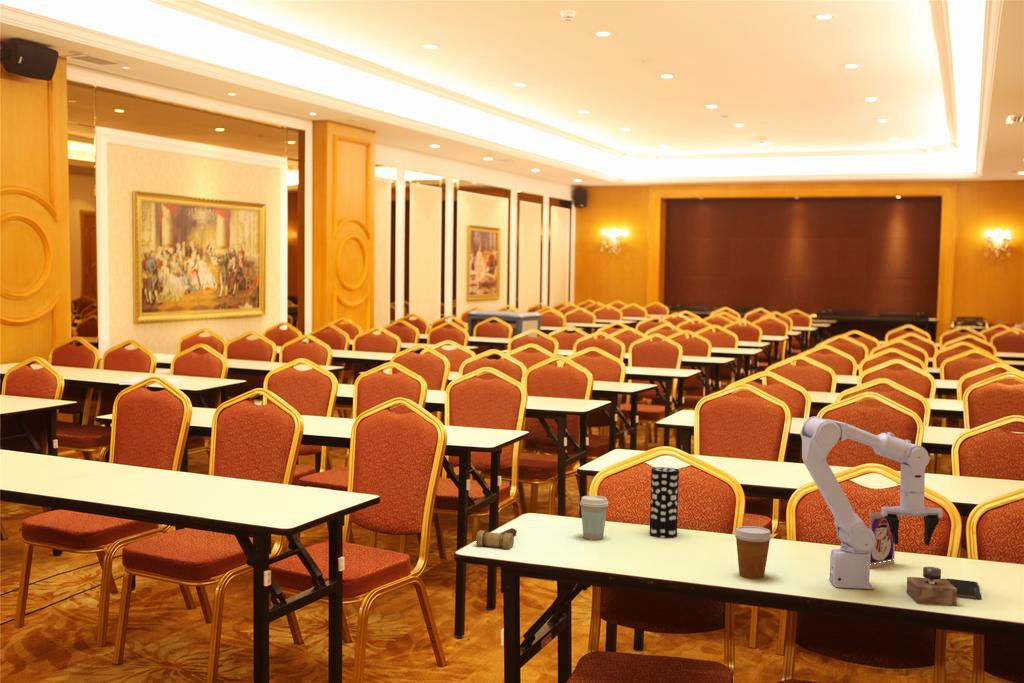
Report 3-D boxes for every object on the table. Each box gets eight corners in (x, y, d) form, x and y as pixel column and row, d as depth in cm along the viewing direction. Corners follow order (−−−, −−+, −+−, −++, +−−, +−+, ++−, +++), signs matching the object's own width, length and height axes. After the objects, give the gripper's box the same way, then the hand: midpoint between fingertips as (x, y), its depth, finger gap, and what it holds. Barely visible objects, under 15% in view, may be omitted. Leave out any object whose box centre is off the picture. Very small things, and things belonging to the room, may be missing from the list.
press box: (917, 603, 241) (917, 586, 241) (906, 592, 250) (907, 576, 250) (956, 605, 240) (957, 588, 240) (944, 594, 249) (944, 578, 249)
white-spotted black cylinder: (676, 539, 302) (678, 472, 301) (648, 537, 304) (650, 471, 303) (677, 533, 310) (679, 468, 310) (650, 531, 312) (652, 466, 311)
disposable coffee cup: (744, 581, 257) (746, 534, 257) (726, 571, 266) (727, 526, 266) (777, 579, 260) (779, 533, 259) (758, 569, 269) (760, 525, 269)
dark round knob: (924, 600, 244) (926, 570, 243) (920, 595, 248) (921, 566, 247) (942, 601, 243) (943, 571, 243) (936, 596, 247) (938, 567, 247)
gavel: (500, 521, 307) (531, 524, 304) (499, 537, 307) (531, 540, 304) (476, 531, 287) (509, 534, 284) (475, 547, 287) (508, 551, 284)
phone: (946, 593, 248) (945, 577, 262) (946, 597, 249) (944, 582, 262) (981, 597, 246) (978, 581, 259) (981, 601, 246) (978, 586, 259)
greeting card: (870, 569, 272) (872, 514, 272) (847, 563, 278) (849, 509, 278) (896, 564, 278) (898, 510, 278) (873, 558, 285) (876, 505, 284)
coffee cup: (608, 541, 297) (609, 501, 296) (579, 540, 297) (580, 500, 297) (606, 534, 305) (607, 495, 305) (578, 534, 306) (579, 494, 305)
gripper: (886, 493, 254) (885, 546, 254) (946, 494, 252) (945, 548, 253) (879, 488, 261) (878, 540, 261) (938, 489, 259) (937, 542, 260)
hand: (911, 544), depth 258 cm, fingers open, 7 cm apart
